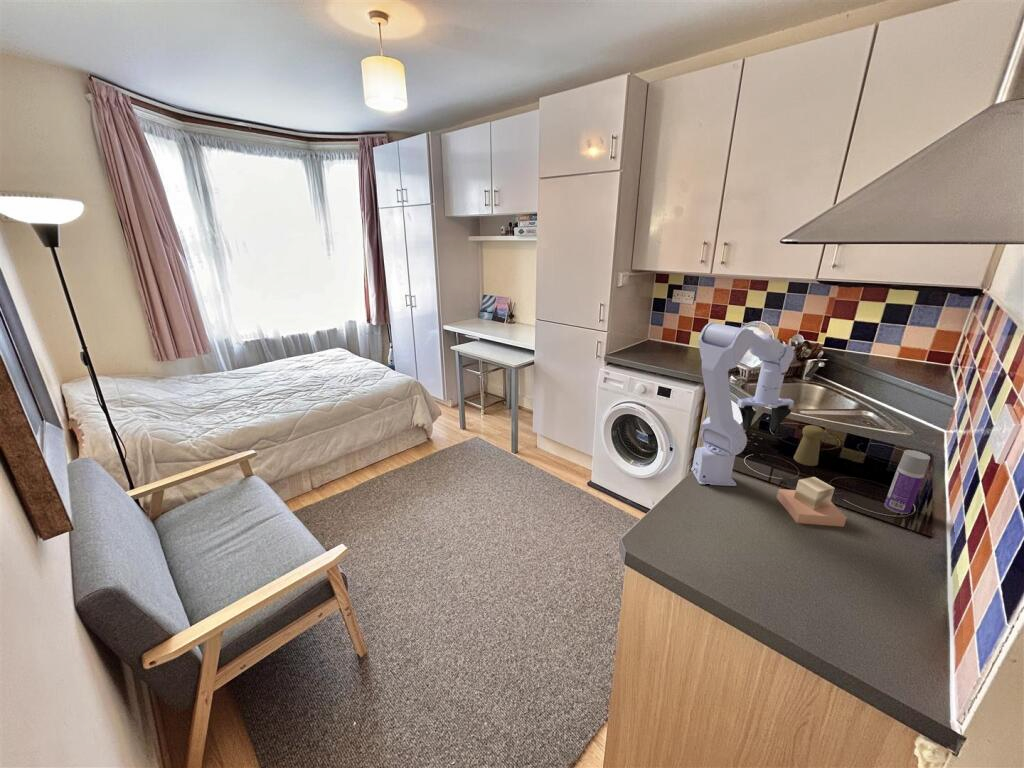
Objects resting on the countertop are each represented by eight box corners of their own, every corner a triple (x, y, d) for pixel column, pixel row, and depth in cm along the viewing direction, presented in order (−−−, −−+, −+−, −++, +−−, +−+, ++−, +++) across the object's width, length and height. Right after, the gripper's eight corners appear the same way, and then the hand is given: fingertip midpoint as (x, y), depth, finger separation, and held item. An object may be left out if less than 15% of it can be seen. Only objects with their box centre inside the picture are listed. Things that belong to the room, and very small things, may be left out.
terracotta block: (796, 524, 95) (799, 514, 94) (776, 499, 104) (778, 489, 103) (843, 528, 94) (846, 517, 93) (818, 501, 103) (821, 491, 102)
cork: (810, 456, 124) (819, 423, 120) (822, 466, 118) (832, 432, 114) (789, 455, 124) (797, 422, 120) (800, 465, 118) (809, 431, 115)
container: (915, 514, 97) (937, 459, 92) (895, 514, 97) (916, 459, 92) (897, 502, 102) (917, 449, 97) (878, 502, 102) (898, 449, 97)
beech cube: (813, 509, 95) (818, 491, 94) (793, 497, 100) (798, 479, 98) (829, 506, 97) (834, 488, 95) (809, 494, 101) (814, 476, 99)
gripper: (751, 390, 109) (741, 436, 113) (805, 390, 109) (793, 436, 113) (737, 381, 115) (728, 425, 120) (788, 381, 115) (777, 425, 120)
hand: (759, 429), depth 117 cm, fingers open, 7 cm apart
